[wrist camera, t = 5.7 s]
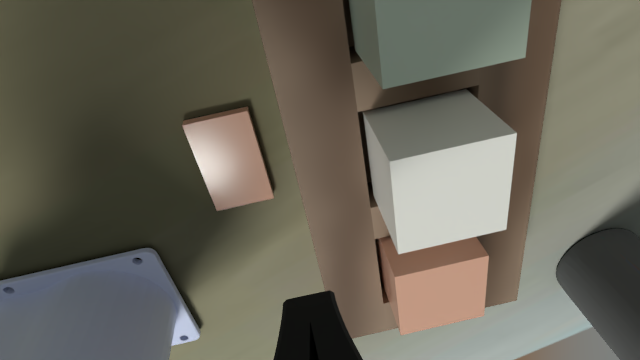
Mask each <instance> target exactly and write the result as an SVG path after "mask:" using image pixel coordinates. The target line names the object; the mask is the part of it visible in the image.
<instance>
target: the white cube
mask: <svg viewBox="0 0 640 360" xmlns="http://www.w3.org/2000/svg"><path fill="white" fill-rule="evenodd" d="M363 116H364V124H365V132H366V140H367V148H368V156H369V164H370V172H371V179H372V187H373V195H374V198H375V200H376V203H377V205H378V207H379V210H380V212H381V214H382V217H383V219H384V222H385V224H386V226H387V229H388V231H389V234H390V236H391V238H392V241H393V243H394V245H395V248H396V250H397V253H398V254H402V253H407V252H411V251H415V250H420V249H424V248H429V247H433V246H437V245H442V244H446V243H450V242H455V241H459V240H463V239H468V238H472V237H476V236H481V235H485V234H490V233H494V232H498V231H503V230H506V228H507V219H508V210H509V201H510V192H511V183H512V174H513V165H514V156H515V147H516V138H517V132H515V131H514V130H513V129H512V128H511V127H510V126H508V125H507V124H506V123H505V122H504V121H503V120H501V119H500V118H499V117H498V116H497V115H496V114H494V113H493V112H492V111H491V110H490V109H489V108H488V107H486V106H485V105H484V104H483V103H482V102H481V101H479V100H478V99H477V98H476V97H475V96H474V95H472V94H471V93H470V92H469V91H468V90H467V89H464V90H459V91H455V92H451V93H446V94H442V95H437V96H433V97H428V98H424V99H419V100H415V101H410V102H406V103H401V104H397V105H392V106H388V107H383V108H379V109H374V110H370V111H365V112H363Z"/></svg>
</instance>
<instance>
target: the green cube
mask: <svg viewBox="0 0 640 360" xmlns="http://www.w3.org/2000/svg"><path fill="white" fill-rule="evenodd" d="M531 2H532V0H349V6H350V14H351V22H352V30H353V38H354V45H355V51H356V52H357V54H358V55H359V56H360V58H361V59H362V61H363V62H364V63H365V65H366V66H367V68H368V69H369V71H370V72H371V73H372V75H373V76H374V78H375V79H376V80H377V82H378V83H379V85H380V86H381V87H382V89H387V88H391V87H396V86H400V85H405V84H409V83H414V82H418V81H423V80H427V79H432V78H436V77H441V76H445V75H450V74H454V73H459V72H463V71H468V70H472V69H477V68H481V67H486V66H490V65H495V64H499V63H504V62H508V61H512V60H517V59H521V58H525V56H526V47H527V38H528V29H529V20H530V11H531Z"/></svg>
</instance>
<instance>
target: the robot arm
mask: <svg viewBox="0 0 640 360" xmlns="http://www.w3.org/2000/svg"><path fill="white" fill-rule="evenodd" d="M136 258H141V259H140V260H138V259H136ZM199 337H200V329H199V327H198V325H197V324H196V322H195V320H194V318H193V316H192V315H191V313H190V311H189V309H188V307H187V306H186V304H185V302H184V300H183V298H182V297H181V295H180V293H179V291H178V289H177V288H176V286H175V284H174V282H173V281H172V279H171V277H170V275H169V273H168V272H167V270H166V268H165V266H164V264H163V263H162V261H161V259H160V257H159V255H158V254H157V252H156V251H155V250H153V249H151V248H142V249H138V250H133V251H129V252H125V253H120V254H116V255H111V256H107V257H102V258H98V259H94V260H89V261H85V262H80V263H76V264H72V265H67V266H63V267H58V268H54V269H50V270H45V271H41V272H36V273H32V274H28V275H23V276H19V277H14V278H10V279H6V280H1V281H0V360H169V357H170V351H171V346H173V345H177V344H181V343H186V342H190V341H194V340H197V339H198V338H199ZM274 360H363V359H362V357H361V355H360V354H359V352H358V350H357V348H356V346H355V344H354V342H353V340H352V338H351V336H350V334H349V332H348V330H347V328H346V326H345V323H344V321H343V319H342V316H341V314H340V311H339V308H338V305H337V302H336V298H335V294H334V292H332V291H330V290H329V291H324V292H320V293H315V294H311V295H306V296H301V297H297V298H292V299H288V300H286V301H285V302H284V303H283V312H282V320H281V326H280V332H279V337H278V342H277V347H276V352H275V356H274Z"/></svg>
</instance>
